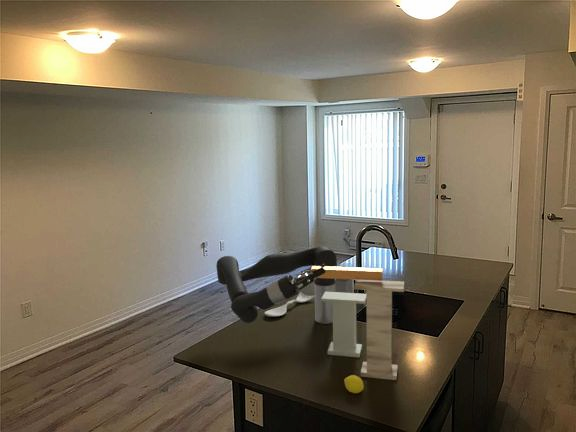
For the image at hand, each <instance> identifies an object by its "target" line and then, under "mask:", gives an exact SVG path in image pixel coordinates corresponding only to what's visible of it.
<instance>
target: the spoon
mask: <svg viewBox="0 0 576 432" xmlns="http://www.w3.org/2000/svg"><path fill="white" fill-rule="evenodd" d="M311 299H315V294H313V295H308V294H304V293H302V291H301V292H299V293H298V294H297V297H296V298H295V299H292V300H289V301H287V302H286V303H285V304H283V305H281V306H278V307H274V308H272V309H269V310H268V309H267V310H266V311H264V315H265V316H267V317H272V318H273V317H274V318H276V317H280V316H283V315H285V314H286V313H287V310H288V309H287V307H288V306H289V305H293V303H301V304H302V303H306V302H308V301H310V300H311Z"/></svg>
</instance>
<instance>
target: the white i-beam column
mask: <svg viewBox="0 0 576 432" xmlns="http://www.w3.org/2000/svg"><path fill="white" fill-rule="evenodd" d="M321 301H328V302H332V305H333V323H332V340H333V341H330V344H329V345H328V349H327V355H329V356H330V355H331V356H339V357H352V358H360V357H361V353H362V349H363V344H361V343H357V304H361V305H362V304H363V305H365V304H366V302H367V294H364V293H359V292H358V293H355V292H352V293H342V292H325V293H324V295H323V296H322V298H321Z"/></svg>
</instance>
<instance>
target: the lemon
mask: <svg viewBox="0 0 576 432" xmlns="http://www.w3.org/2000/svg"><path fill="white" fill-rule="evenodd" d="M343 381H344V386H345V389H346V390H347V392H350V393H352V394H359V393H360V392H362V391H363V390H364V381H363V380H362V377H360V376H357V375H355V374H352V375H349V376H347V377H345V378H344V380H343Z"/></svg>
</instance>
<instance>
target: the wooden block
mask: <svg viewBox="0 0 576 432" xmlns="http://www.w3.org/2000/svg"><path fill="white" fill-rule="evenodd" d="M311 267H312V268H311ZM311 267H310V268H311V272H314V271H315V270H317V269H319V268H321V267H323V268H324V270H325V273H324V274H322V275H320V276H318V277H317V278H331V279H352V280H353V281H354V280H355V281H356V280H378V281H382V280H383V268H378V267H375V268H374V267H351V266H350V267H348V266H337V267H328V266H311Z"/></svg>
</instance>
